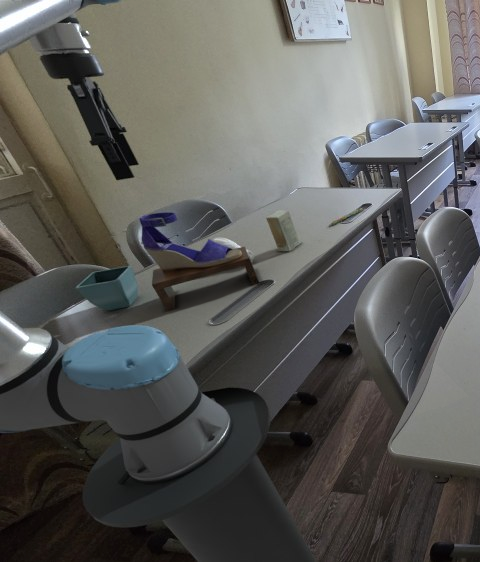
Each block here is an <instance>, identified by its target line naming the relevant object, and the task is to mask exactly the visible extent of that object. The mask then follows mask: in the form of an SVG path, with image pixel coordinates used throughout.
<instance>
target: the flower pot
mask: <svg viewBox="0 0 480 562" xmlns="http://www.w3.org/2000/svg"><path fill="white" fill-rule="evenodd" d="M75 289H76V290H77V291H78V292H79V293H80V294H81V295H82V296H83V297H84V298H85V300H87V301H88V302H89V303H90V304H92V305H94V306H95V307H97V308H99V309H102V310H104V311H109V312H110V311H114V310H119V309H124V308H128V307H130V306H131V305H132V304H133V303H134V301H136V299H137V298H138V294H139V284H138V280H137V278H136V275H135V273H134V270H133V268H132V265H125V266H119V267H114V268H109V269H108V268H107V269H102V270H97V271H92V272H91V273H90V274H88V276H86V277H85V278H84V279H83V280H82V281H81V282H80V283H79V284H77V285H76V286H75Z"/></svg>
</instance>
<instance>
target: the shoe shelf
mask: <svg viewBox="0 0 480 562" xmlns="http://www.w3.org/2000/svg"><path fill="white" fill-rule="evenodd" d="M236 249H238V250H240V251H241V252H242V256H241V257H240V258H238V259H236V260H234V261H231V262H228V263H224V264H221V265H217V266H212V267H205V268H179V269H175V270H172V271H162V269H161V268H160V267H159V268H155V269H153V270H152V278H151V286H152V289H154V291H155V293H156V295H157V297H158V298H159V300H160V301H161V303H162V305H163V307H164V309H165V310H166V311H170V310H173V309H175V308H176V292H175V290H174V289H173V286H177V285H181V284H184V283H187V282H191V281H194V280H198V279H199V280H200V279H202V278H205V277H210V276H213V275H216V274H220V273H224V272H227V271H230V270H234V269H239V268H241V267H244V268H245V271H246V273H247V276H248V278H249V280H250V283H251V284H252V285H253V286H254V285H256V284H259V283H260V280H259V278H258V275H257V272H256V269H255V268H254V265H253V262H252V263H251V260H250V258H249V255H248V253H247V251H246V250H247V248H246V246H241V247H240V248H236Z"/></svg>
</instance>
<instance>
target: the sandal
mask: <svg viewBox="0 0 480 562" xmlns="http://www.w3.org/2000/svg"><path fill="white" fill-rule="evenodd" d="M176 221H178V217H177V215H176V213H175V212H173V211H166V212H165V211H164V212H154V213H150V214H144V215H142V216H141V217H140V218H139V224H140V225H141V242H142V245H143V249H144V250H145V251H146V252H147V253H148V255H149V256H150V257H151V258H152V260H153V262H154V263H155V264H156V265H157V266H158V267H159V268H161V269H162V271H172V270H175V269H179V268H205V267H212V266H217V265H221V264H224V263H228V262H231V261H234V260H236V259H238V258H240V257H241V256H242V252H241V251H240V250H238V249H231V248H230V247H227V246H224V245H221V244H219V243H216V242H214V241H212V240H213V239H210V238H208V239H207V241H206V242H205V244H204V245H203V246H202V248H201V250H198V249H195V248H191V247H188V246H185V245H181V244H179V243H174V242H173V241H172V240H171V239H169V238H168V237H167V236H166V235H165V234H164V233H162V232H161V231H160V230H158V228H164V227H166V226H167V225H169V224H172V223H174V222H176Z"/></svg>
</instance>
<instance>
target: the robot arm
mask: <svg viewBox="0 0 480 562" xmlns="http://www.w3.org/2000/svg"><path fill="white" fill-rule="evenodd" d="M121 1H122V0H0V56H2V55H5V54H6V53H7V52H10V51H11V50H12V49H15V48H16V47H18V46H20V45H21V44H24V43H25V42H26V41H29V43H30V45H31V47H32V48H33V50H34V51H36V52H38V53H40V54H41V55H39V60H40V62H41V64H42V65H43V67H44V69H45V71H46V73H47V75H48V76H49V77H50V78H51V79H53V80H65V79H66V80H67V79H68V81H69V83H70V84H67V85H66V88H67V90H68V91H69V93H70V95H71V97H72V99H73V101H74V103H75V105H76V107H77V109H78V112H79V115H80V117H81V119H82V121H83V123H84V125H85V128H86V130H87V132H88V134H89V137H90V140H89V141H88V142H89V144H90V145H91V146H92V147H95V146H97V147H98V149H99V151H100V153H101V154H102V156H103V158H104V160H105V162H106V164H107V166H108V167H109V169H110V171H111V173H112V174H113V176H114V179H115V180H116V181H122V180H128V179H134V178H135V175H134V173H133V171H132V169H131V167H132V166H139V161H138V160H137V157H136V155H135V153H134V151H133V149H132V148H131V145H130V144H129V142H128V140H127V137H126V135H125V134H124V133H127V132H128V131H127V129H126V127H125V126H122V124H121V123H120V122H119V121H118V118H117V117H116V116H115V114H114V112H113V110H112V109H111V106H110V105H109V103H108V100H107V99H106V97H105V95H104V92H103V91H102V89H101V87H99V84H98V82H96V80H94V81H93V80H92V79H91V78H95V77H103V76H104V75H105V71H104V70H103V68H102V65H101V63H100V62H99V60H98V57H97V55H94V53H90V51H91V50H92V46H91V44H90V41H89V40H88V39H87V38H86V37H90V32H89V31H88V30H85V29H82V26H81V24H80V21H79V20H78V18H77V16H76V14H75V13H77V12H78V11H80V10H82V9H84V8H86V7H88V6H91V5H92V6H93V5H100V6H106V5H109V4H116V3H119V2H121ZM193 377H194V376H193V375H192V374H191V372H190V370H189V369H188V367H187V365H186V363H185V362H184V360H183V358H182V356H181V355H180V351H179V349H178V348H177V347H176V346H175V344H174V343H172V342H171V340H170V339H169V337H168V336H167V335H166V334H165V333H164V332H163V331H161V330H160V329H158V328H155V327H152V326H150V325H149V326H148V325H140V324H131V325H122V326H116V327H111V328H108V329H107V330H106V331H98V332H94V333H92V334H90V335H88V336H86V337H84V338H82V339H80V340H78V341H77V342H75V343H73V344H72V345H71V346H67V345H65V344H64V343H62V342H61V341H60V340H59V339H58V338H56V337H55V336H54V335H52V334H51V333H50V331H47V330H46V329H44V328H40V327H21V326H20V325H19V324H17V323H16V322H15V321H13V320H12V319H11V318H10V317H8V316H7V315H6V314H5V313H3V311H1V310H0V434H6V433H8V434H10V433H11V434H12V433H21V432H27V431H30V430H37V429H43V428H50V427H51V428H52V427H58V426H65V425H73V424H81V423H87V422H94V421H95V422H96V421H104V422H106V423H107V424H108V426H109V427H110V428H111V429H112V430H113V432H115V434H116V435H117V436H118V438H119V437H120V440H121V447H122V453H123V459H124V465H125V468H126V472H125V474H124V475H123V476H122V477H121V478H120V479H119V480H118V482H117V483H118V484H121V485H123V484H124V483H125V481H126V480H127V479H128V478H129V477H130V476H131V477H132V478H133V479H134V480H135V481H137V482H139V483H142V484H148V485H151V484H161V483H165V482H169V481H172V480H175V479H178V478H180V477H182V476H185V475H187V474H189V473H190V472H192V471H194V470H196V469H197V468H199V467H200V466H202V465H203V464H205V463H206V462H207V461H209V460H210V459H211V458H212V457H213V456H214V455H215V454H217V453H218V452H219V450H220V449H221V448H222V447H223V446H224V444H225V443H226V442H227V440H228V438H229V436H230V434H231V432H232V427H233V422H232V419H231V417H230V415H229V414H228V412H227V411H226V410H225V409H224V408H223V407H222V406H220V405H219V404H217V403H216V402H215V400H214V398H212V399H210V398H208V397H207V396H205V395H204V394H202V393H201V392H202V391H201V390H200V388H199V386H198V384H197V383H196V381H195V379H194V378H193Z"/></svg>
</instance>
